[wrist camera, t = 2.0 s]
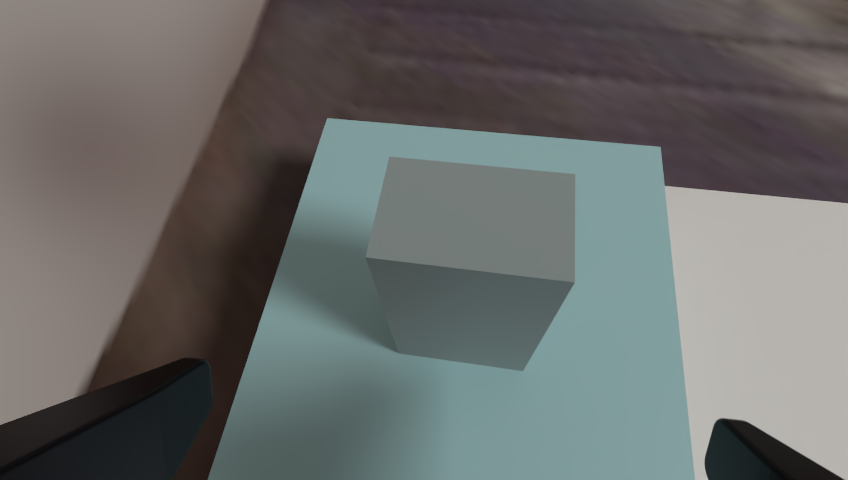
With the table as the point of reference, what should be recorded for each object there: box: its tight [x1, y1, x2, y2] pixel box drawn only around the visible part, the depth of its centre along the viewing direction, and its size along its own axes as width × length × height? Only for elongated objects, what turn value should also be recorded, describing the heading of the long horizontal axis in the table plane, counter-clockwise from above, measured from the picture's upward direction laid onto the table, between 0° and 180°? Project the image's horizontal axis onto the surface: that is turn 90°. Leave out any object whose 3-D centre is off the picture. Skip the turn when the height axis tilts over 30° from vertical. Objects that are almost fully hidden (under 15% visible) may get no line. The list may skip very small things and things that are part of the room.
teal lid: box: [208, 118, 695, 480], centre depth 14 cm, size 17×14×10 cm
